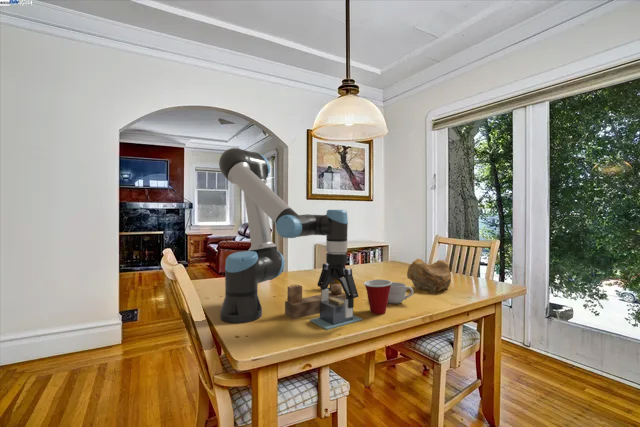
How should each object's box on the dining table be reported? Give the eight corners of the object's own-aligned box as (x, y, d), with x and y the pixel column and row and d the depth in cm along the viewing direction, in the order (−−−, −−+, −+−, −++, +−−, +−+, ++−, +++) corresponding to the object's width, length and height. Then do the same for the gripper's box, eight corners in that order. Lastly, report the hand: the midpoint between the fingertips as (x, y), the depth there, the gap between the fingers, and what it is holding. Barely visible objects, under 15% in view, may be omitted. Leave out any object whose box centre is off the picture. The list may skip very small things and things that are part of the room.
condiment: (345, 290, 153) (345, 266, 153) (331, 292, 148) (331, 267, 148) (336, 287, 159) (336, 263, 159) (322, 289, 155) (322, 265, 154)
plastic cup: (363, 306, 127) (364, 277, 127) (390, 308, 125) (391, 279, 125) (362, 315, 116) (363, 284, 116) (392, 317, 114) (392, 285, 114)
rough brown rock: (422, 297, 144) (425, 266, 143) (402, 286, 160) (405, 257, 159) (462, 295, 151) (465, 265, 150) (439, 284, 167) (442, 257, 166)
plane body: (293, 319, 112) (293, 289, 112) (284, 314, 117) (285, 285, 117) (347, 306, 127) (347, 279, 127) (338, 302, 132) (338, 277, 132)
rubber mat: (326, 329, 102) (326, 328, 102) (310, 321, 110) (310, 319, 110) (362, 320, 112) (362, 318, 112) (344, 312, 120) (344, 311, 120)
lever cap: (333, 325, 105) (333, 304, 105) (319, 318, 112) (319, 299, 112) (353, 319, 110) (353, 300, 110) (338, 313, 117) (338, 295, 117)
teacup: (375, 301, 134) (375, 283, 134) (389, 296, 142) (389, 279, 142) (404, 309, 124) (404, 289, 124) (417, 303, 132) (417, 284, 132)
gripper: (369, 256, 103) (368, 319, 103) (324, 248, 123) (323, 301, 123) (352, 258, 98) (351, 324, 99) (308, 249, 119) (308, 304, 119)
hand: (336, 311), depth 111 cm, fingers open, 13 cm apart
